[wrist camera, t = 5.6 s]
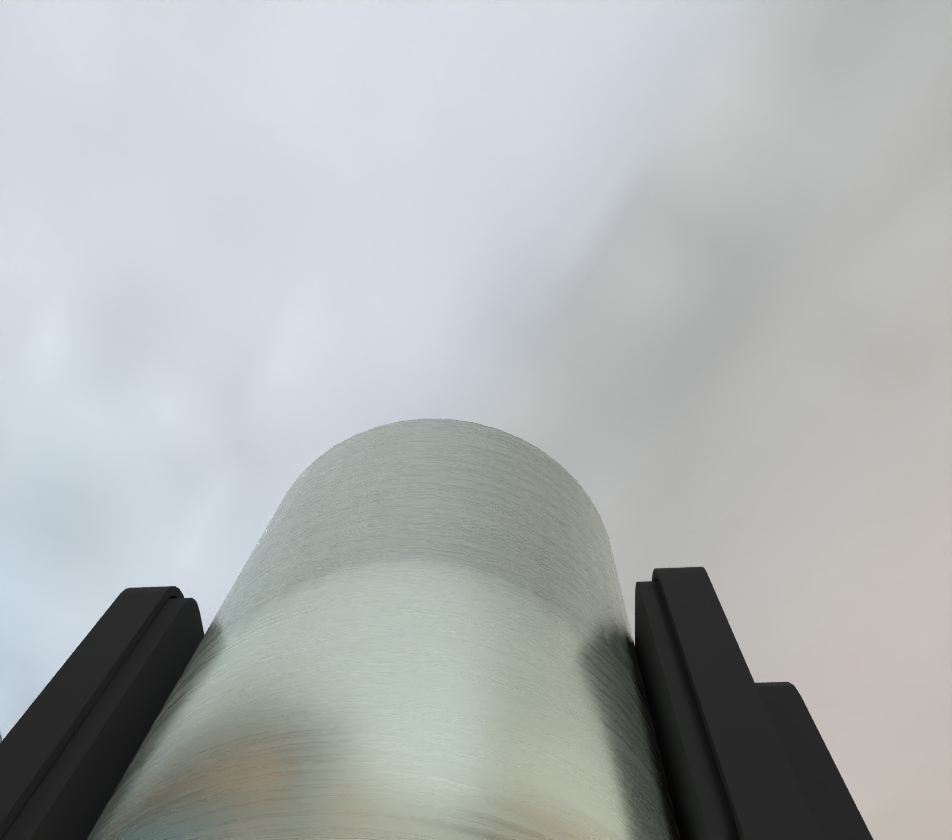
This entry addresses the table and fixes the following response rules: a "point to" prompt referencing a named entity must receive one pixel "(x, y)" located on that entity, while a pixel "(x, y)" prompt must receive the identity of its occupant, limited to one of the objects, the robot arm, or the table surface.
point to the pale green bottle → (412, 664)
